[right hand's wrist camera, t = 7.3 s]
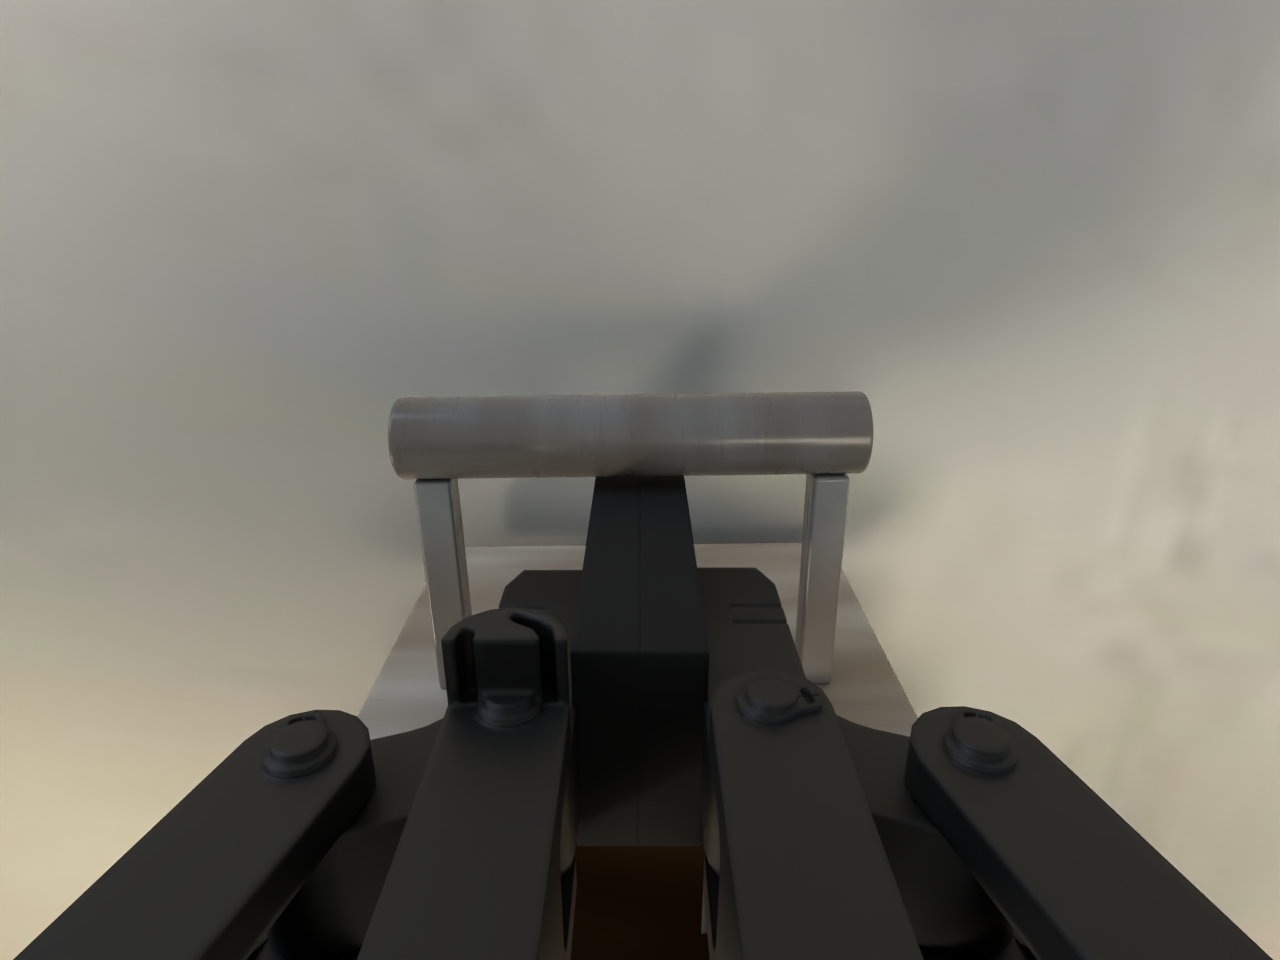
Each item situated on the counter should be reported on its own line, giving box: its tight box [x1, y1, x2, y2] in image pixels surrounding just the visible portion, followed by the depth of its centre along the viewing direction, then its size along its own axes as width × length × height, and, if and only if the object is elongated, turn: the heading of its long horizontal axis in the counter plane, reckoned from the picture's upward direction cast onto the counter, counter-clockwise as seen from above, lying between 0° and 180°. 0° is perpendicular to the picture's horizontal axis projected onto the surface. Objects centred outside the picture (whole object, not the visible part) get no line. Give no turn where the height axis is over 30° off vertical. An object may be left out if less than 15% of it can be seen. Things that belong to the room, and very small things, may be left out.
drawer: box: [358, 392, 918, 960], centre depth 18 cm, size 23×10×7 cm, turn 1°
